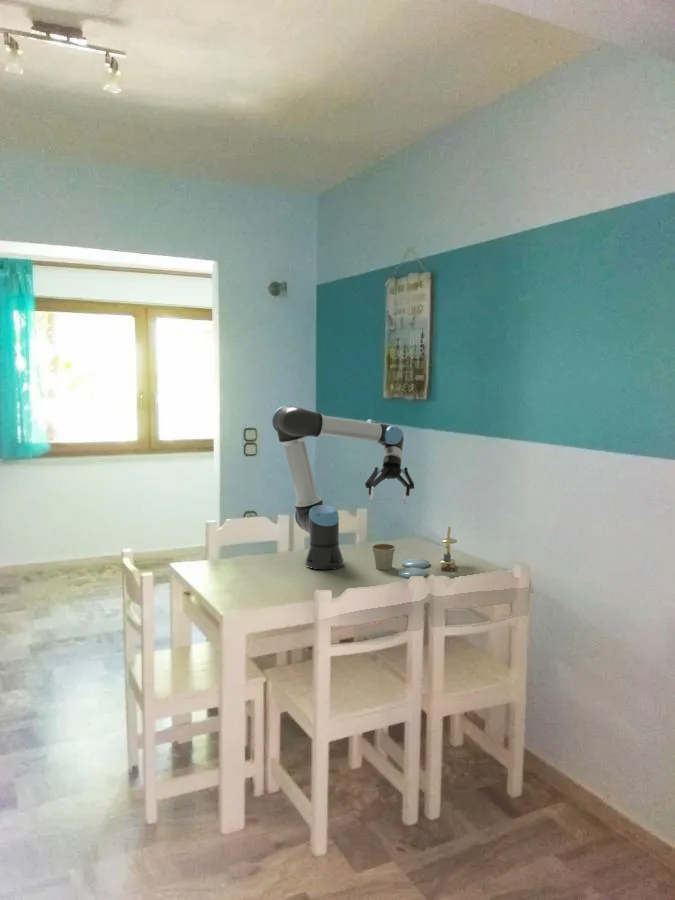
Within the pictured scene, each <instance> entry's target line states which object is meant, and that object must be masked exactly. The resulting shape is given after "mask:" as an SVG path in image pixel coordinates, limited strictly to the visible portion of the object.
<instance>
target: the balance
mask: <svg viewBox="0 0 675 900" xmlns="http://www.w3.org/2000/svg"><path fill="white" fill-rule="evenodd" d="M451 528H452V526H451V525H450V526H447V535H446V538H442V539H441V543H443V544H445V548H446V553H444V554H443V558H440V559H439V564H441V566H440V567H441V569H440V570H452V571H451V572H455V570H454V569H455V568H456V560H455V559H452V558H451V556H452V555H451V544H457V543H458V540H457V539H456V538H451Z"/></svg>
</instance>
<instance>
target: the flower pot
mask: <svg viewBox="0 0 675 900" xmlns="http://www.w3.org/2000/svg"><path fill="white" fill-rule="evenodd" d="M371 549H372V552H373V556H374V563H375V568H376V569H377V570H381V571H386V570H387V571H388V570H391V569H392V567H393V560H394V554H395V550H396V545H394V544H390V543H376V544H373V545H371Z"/></svg>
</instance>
